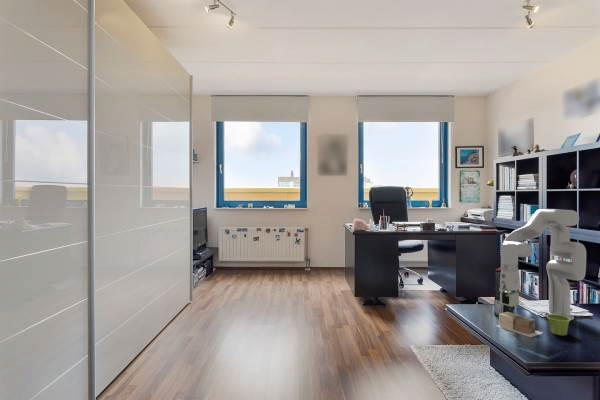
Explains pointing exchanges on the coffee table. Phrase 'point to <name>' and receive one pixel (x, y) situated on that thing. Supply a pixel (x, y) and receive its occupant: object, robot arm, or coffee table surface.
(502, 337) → the coffee table surface
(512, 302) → the sage block
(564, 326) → the plant pot
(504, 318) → the maple base
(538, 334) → the board
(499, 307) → the graphics card box
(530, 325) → the walnut cube
